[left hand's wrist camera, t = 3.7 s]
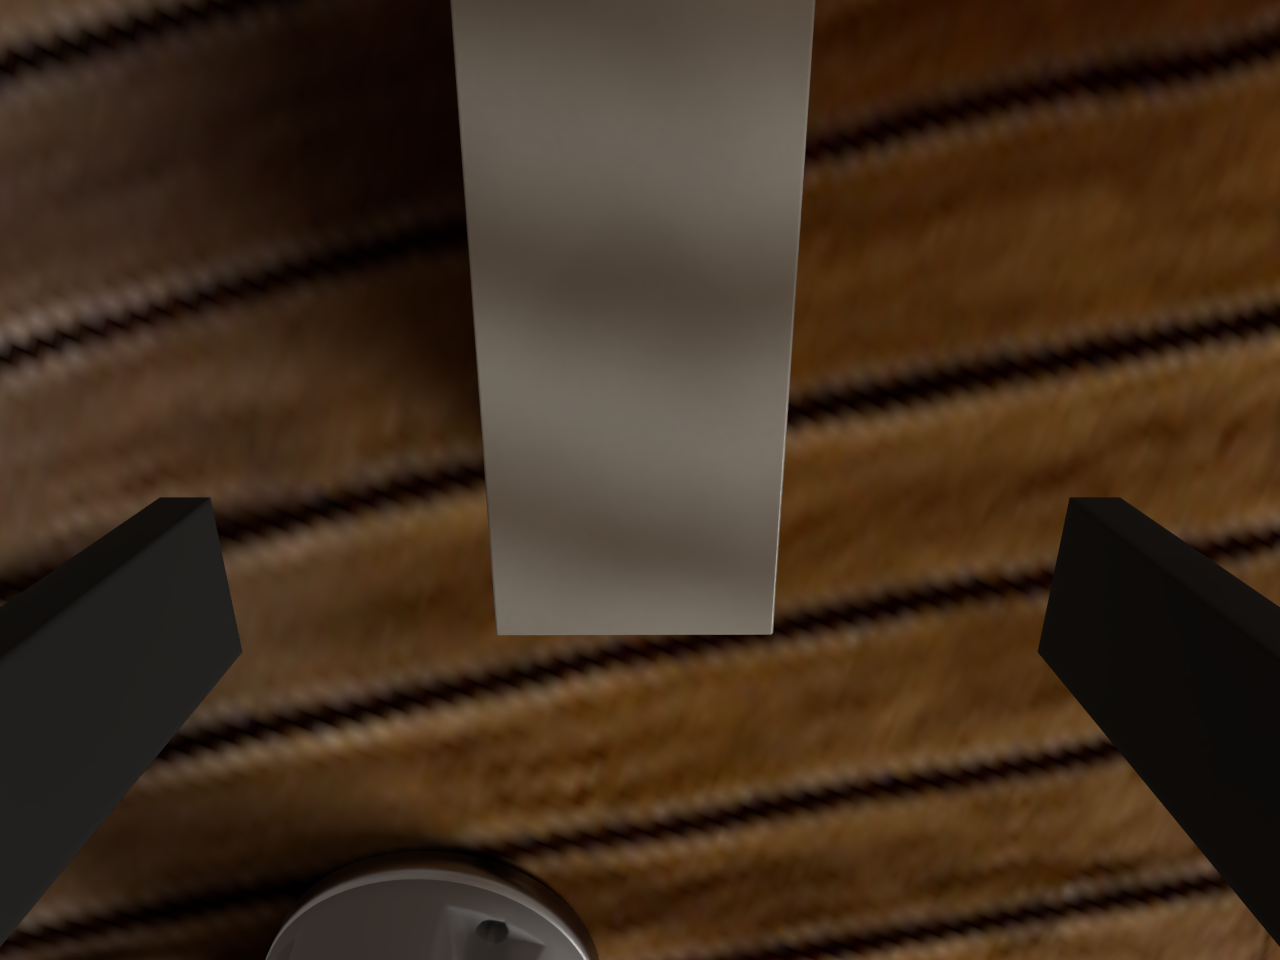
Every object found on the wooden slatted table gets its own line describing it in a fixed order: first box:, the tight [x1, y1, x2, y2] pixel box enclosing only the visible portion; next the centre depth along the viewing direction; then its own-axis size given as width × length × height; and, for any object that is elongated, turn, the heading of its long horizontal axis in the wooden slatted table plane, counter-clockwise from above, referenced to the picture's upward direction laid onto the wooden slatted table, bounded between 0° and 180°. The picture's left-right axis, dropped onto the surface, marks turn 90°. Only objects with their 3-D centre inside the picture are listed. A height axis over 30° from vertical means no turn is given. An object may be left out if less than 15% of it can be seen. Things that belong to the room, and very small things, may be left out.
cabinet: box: [450, 0, 815, 635], centre depth 22 cm, size 17×7×10 cm, turn 0°
